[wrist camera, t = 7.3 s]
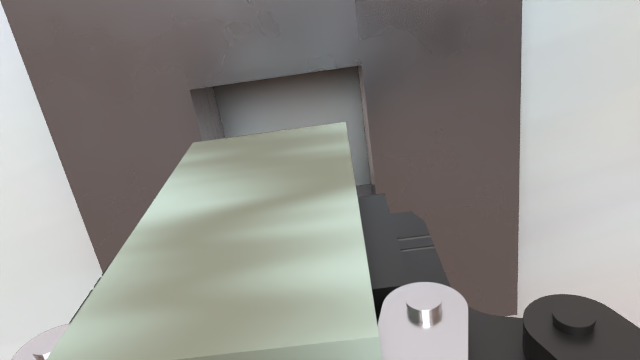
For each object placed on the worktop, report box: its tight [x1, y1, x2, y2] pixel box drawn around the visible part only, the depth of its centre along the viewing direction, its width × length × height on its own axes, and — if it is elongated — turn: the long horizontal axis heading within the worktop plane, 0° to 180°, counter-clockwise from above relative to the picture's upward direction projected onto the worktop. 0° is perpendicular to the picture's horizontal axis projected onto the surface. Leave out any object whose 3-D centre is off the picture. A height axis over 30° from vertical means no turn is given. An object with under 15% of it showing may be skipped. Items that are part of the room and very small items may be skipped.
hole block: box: [0, 0, 522, 316], centre depth 18 cm, size 15×15×3 cm
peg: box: [46, 122, 382, 360], centre depth 10 cm, size 4×4×8 cm
